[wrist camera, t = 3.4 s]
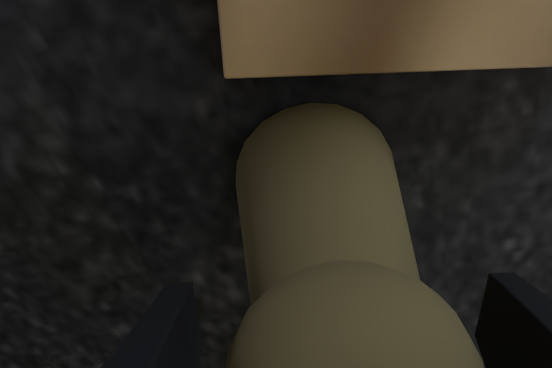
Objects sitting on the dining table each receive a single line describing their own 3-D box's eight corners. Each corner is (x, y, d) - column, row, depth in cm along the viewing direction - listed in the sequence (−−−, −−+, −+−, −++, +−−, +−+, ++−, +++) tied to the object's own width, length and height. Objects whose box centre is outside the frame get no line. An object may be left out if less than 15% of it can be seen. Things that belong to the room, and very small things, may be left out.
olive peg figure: (397, 94, 16) (585, 332, 6) (391, 238, 19) (516, 553, 9) (224, 109, 16) (154, 361, 7) (245, 249, 19) (216, 569, 9)
